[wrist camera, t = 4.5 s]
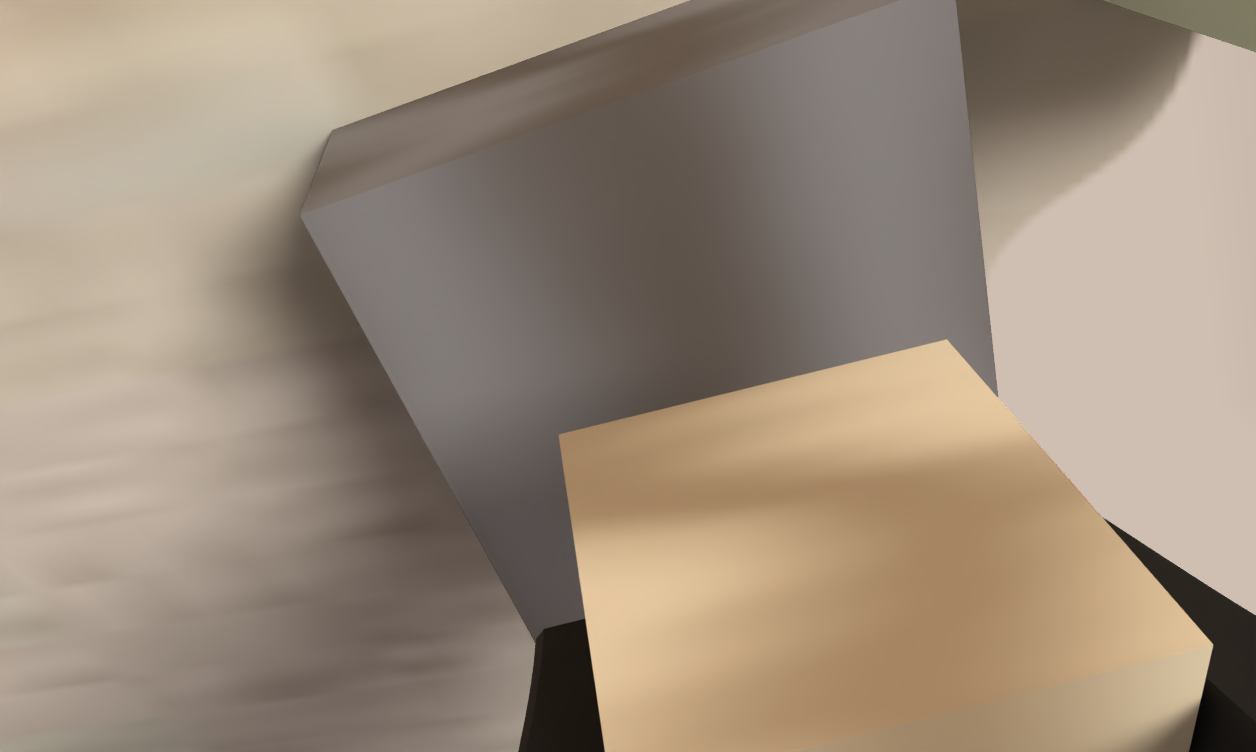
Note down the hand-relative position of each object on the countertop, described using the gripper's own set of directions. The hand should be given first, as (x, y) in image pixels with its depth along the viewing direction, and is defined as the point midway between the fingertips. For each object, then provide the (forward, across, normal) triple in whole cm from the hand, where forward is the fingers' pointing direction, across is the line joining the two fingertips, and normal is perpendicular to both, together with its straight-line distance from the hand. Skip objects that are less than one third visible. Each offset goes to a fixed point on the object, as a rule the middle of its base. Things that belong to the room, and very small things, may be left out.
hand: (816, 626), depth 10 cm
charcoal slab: (+9, 0, 0) cm, 9 cm away
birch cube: (+2, 0, 0) cm, 2 cm away
